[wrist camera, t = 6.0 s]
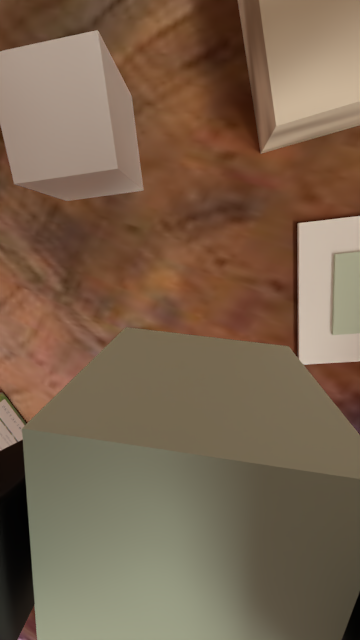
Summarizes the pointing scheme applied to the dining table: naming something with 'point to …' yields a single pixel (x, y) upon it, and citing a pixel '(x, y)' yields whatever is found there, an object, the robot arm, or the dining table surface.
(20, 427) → the syrup box
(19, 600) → the robot arm
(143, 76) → the dining table surface
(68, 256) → the dining table surface
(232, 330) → the dining table surface
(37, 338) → the dining table surface
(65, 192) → the grey block
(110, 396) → the sage block
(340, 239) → the card
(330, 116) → the birch base block
